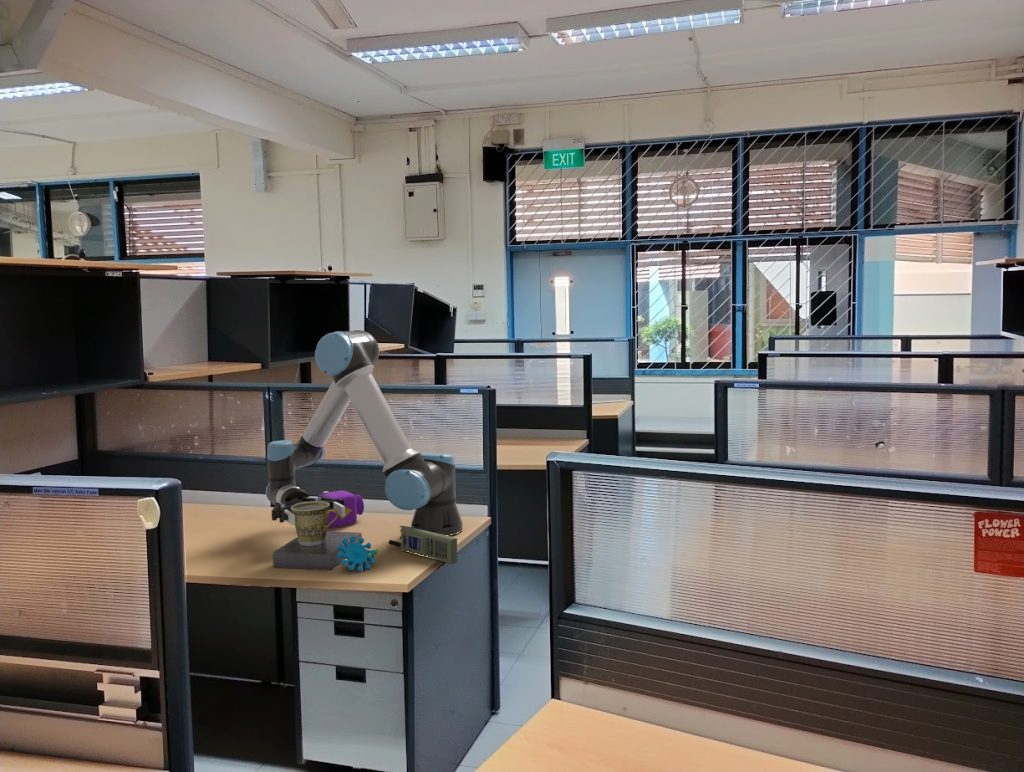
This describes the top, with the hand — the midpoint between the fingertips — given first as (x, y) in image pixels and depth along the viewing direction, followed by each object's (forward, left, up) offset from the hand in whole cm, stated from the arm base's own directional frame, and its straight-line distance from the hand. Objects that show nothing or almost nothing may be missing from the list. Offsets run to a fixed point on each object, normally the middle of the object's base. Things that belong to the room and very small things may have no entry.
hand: (319, 515), depth 211 cm
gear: (-13, +6, -12) cm, 18 cm away
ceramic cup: (+1, -1, -8) cm, 8 cm away
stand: (+1, -1, -12) cm, 12 cm away
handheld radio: (-25, -7, -12) cm, 29 cm away
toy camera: (+9, -34, -12) cm, 37 cm away
